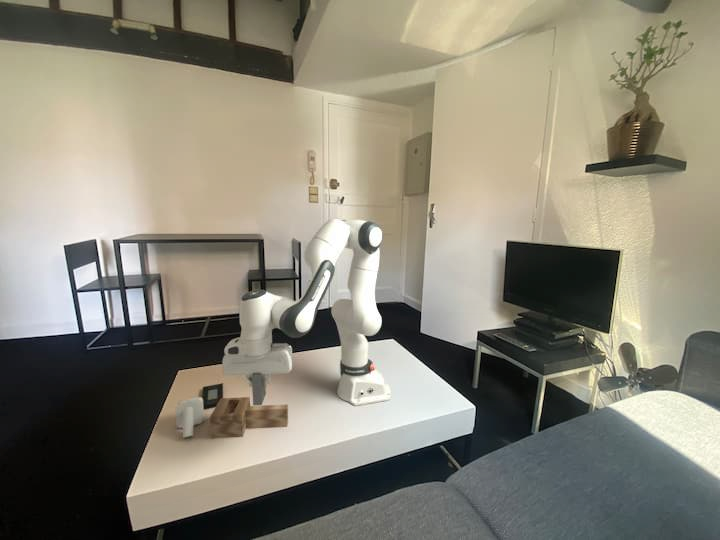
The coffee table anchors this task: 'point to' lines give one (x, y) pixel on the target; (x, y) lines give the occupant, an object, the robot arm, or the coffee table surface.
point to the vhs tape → (212, 395)
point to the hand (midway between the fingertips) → (259, 385)
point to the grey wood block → (258, 388)
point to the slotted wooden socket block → (245, 417)
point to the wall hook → (189, 414)
